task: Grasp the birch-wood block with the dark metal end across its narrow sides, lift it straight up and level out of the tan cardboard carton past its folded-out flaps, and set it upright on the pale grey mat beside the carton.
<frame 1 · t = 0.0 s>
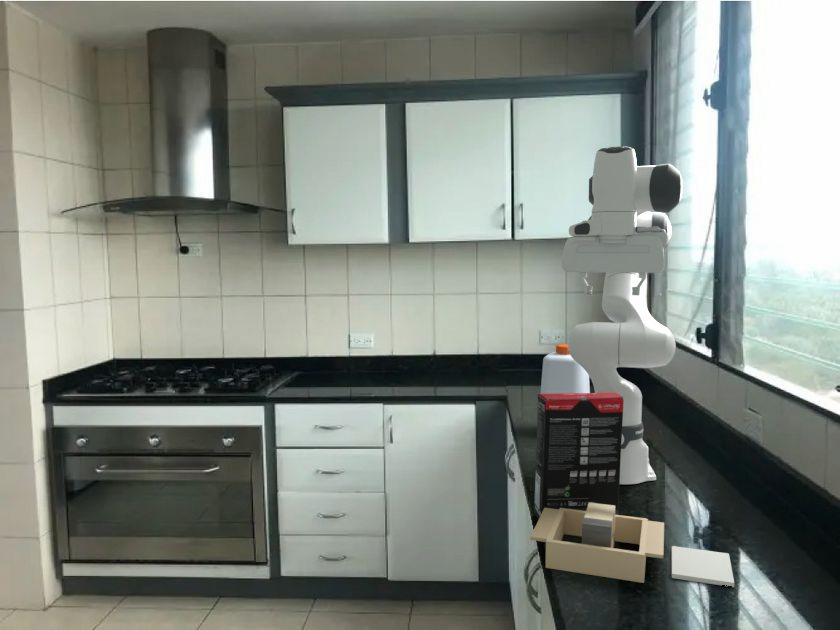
hand: (611, 295, 142), 48 cm above the counter, fingers open, 8 cm apart
graphics card box: (576, 520, 147), on the counter
carton: (598, 555, 130), on the counter
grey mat: (701, 567, 125), on the counter
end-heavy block: (598, 534, 130), in the carton
plastic bottle: (564, 435, 213), on the counter
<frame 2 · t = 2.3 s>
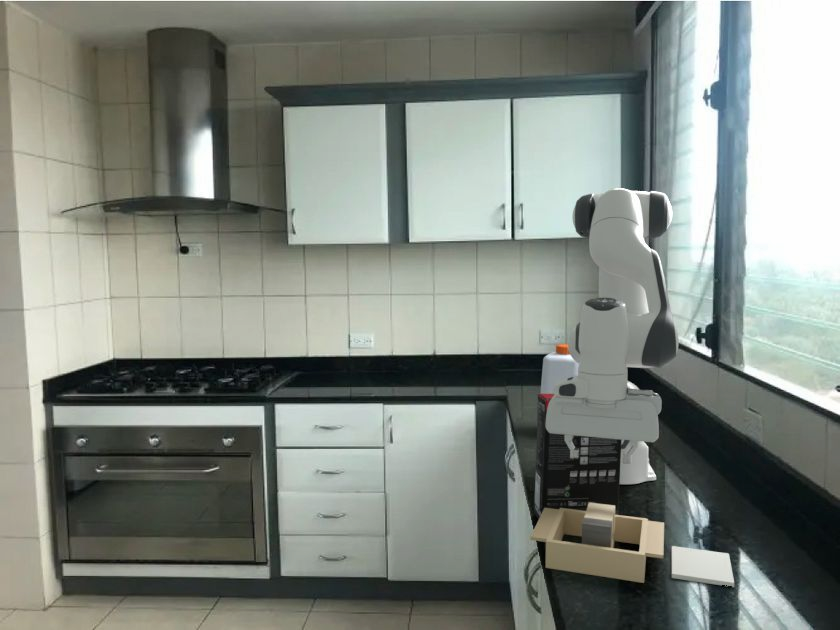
hand: (600, 460, 128), 18 cm above the counter, fingers open, 8 cm apart
nothing on the counter moved.
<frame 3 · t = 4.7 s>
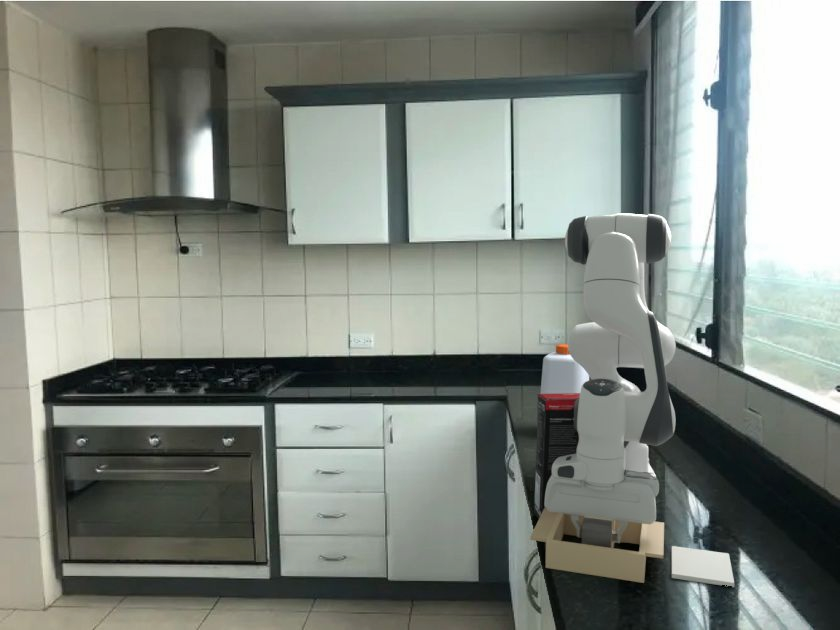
hand: (598, 539, 130), 3 cm above the counter, fingers closed on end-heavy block, 5 cm apart
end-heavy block: (598, 534, 130), in the carton, touching gripper
everything else where it was.
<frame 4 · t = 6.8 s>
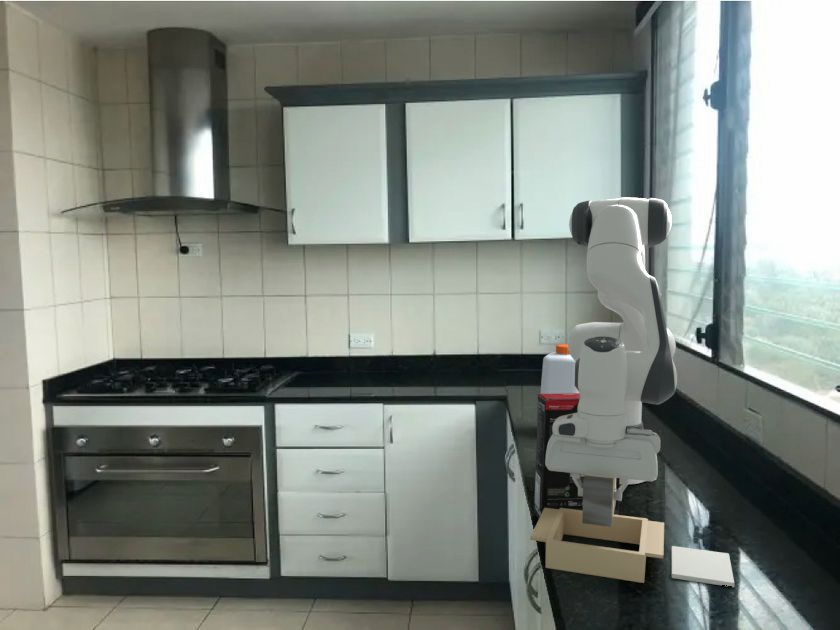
hand: (599, 497, 129), 11 cm above the counter, fingers closed on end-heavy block, 5 cm apart
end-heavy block: (599, 493, 129), point 12 cm above the counter, touching gripper
everything else where it was.
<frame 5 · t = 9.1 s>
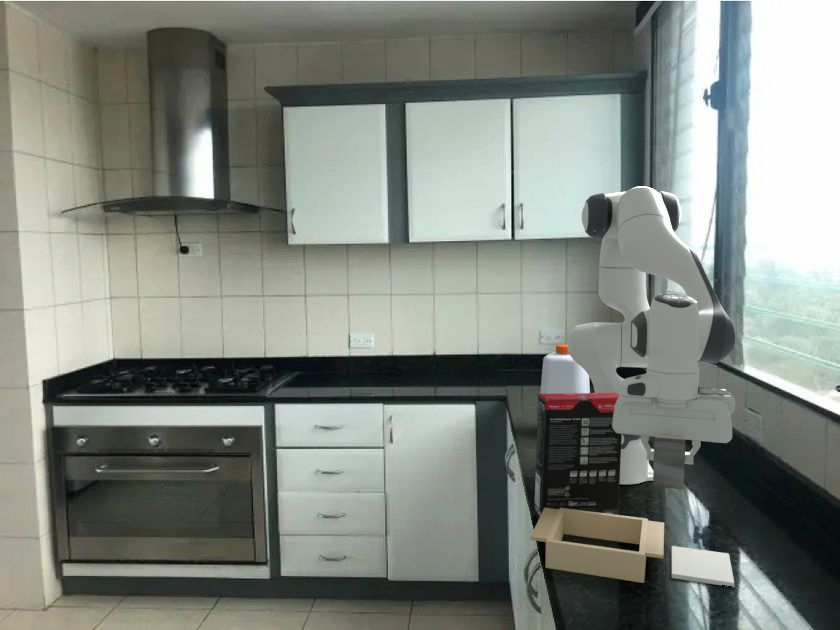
hand: (669, 461, 125), 19 cm above the counter, fingers closed on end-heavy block, 5 cm apart
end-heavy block: (669, 456, 125), point 20 cm above the counter, touching gripper
everything else where it was.
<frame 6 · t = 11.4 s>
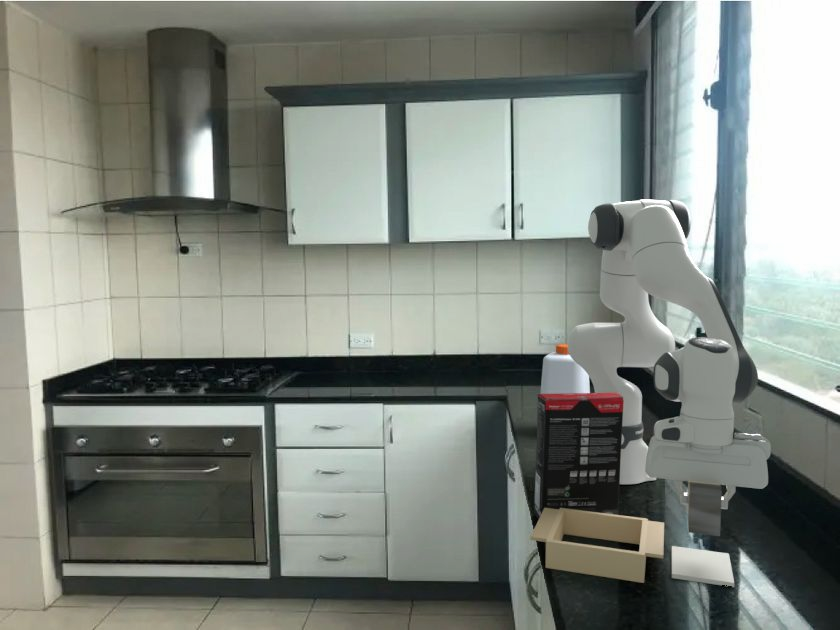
hand: (703, 505, 124), 12 cm above the counter, fingers closed on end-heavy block, 5 cm apart
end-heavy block: (703, 500, 124), point 12 cm above the counter, touching gripper
everything else where it was.
when the fingers open (5 cm above the counter, at t = 13.7 s): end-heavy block drops 1 cm, resting on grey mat.
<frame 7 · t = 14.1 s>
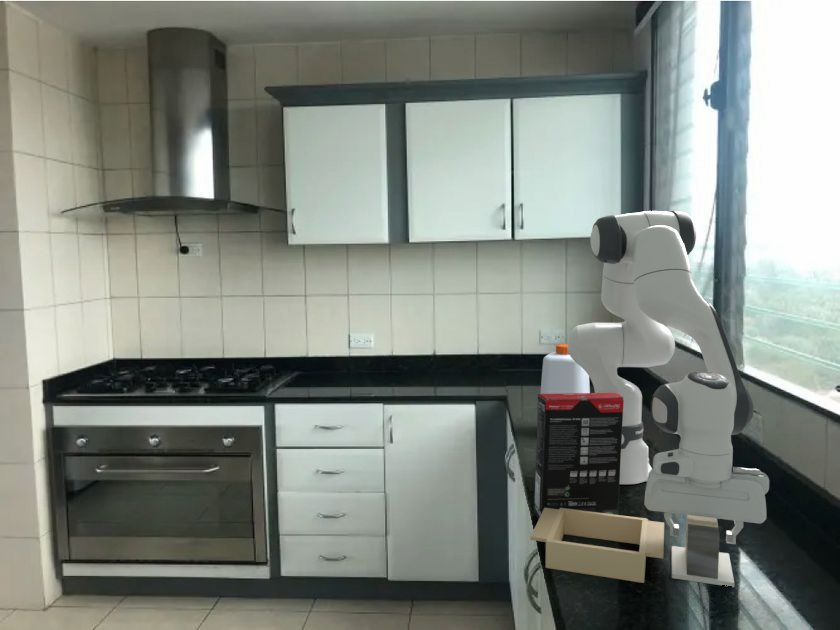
hand: (702, 538, 125), 5 cm above the counter, fingers open, 8 cm apart
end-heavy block: (701, 541, 125), on the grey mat, point 5 cm above the counter
everything else where it was.
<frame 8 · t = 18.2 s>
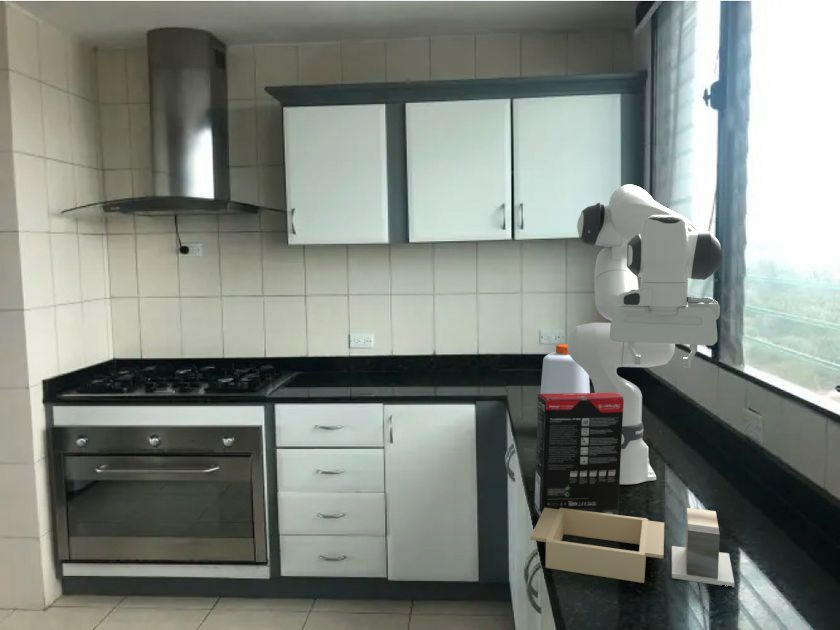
hand: (661, 365, 138), 34 cm above the counter, fingers open, 8 cm apart
nothing on the counter moved.
at the end: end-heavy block inside the target area (0.1 cm from its centre), point 4.8 cm above the counter; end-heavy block tilted 0°; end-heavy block touching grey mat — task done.
